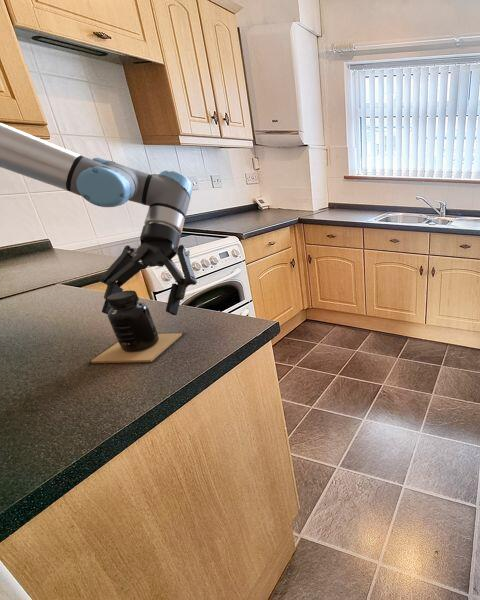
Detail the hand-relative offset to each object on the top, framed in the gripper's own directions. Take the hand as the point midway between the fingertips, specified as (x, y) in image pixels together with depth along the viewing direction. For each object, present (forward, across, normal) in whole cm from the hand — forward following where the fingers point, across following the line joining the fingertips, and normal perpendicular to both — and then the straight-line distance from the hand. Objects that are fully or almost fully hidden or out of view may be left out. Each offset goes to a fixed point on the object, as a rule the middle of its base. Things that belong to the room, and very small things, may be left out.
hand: (139, 313), depth 73 cm
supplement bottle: (+6, 0, -3) cm, 7 cm away
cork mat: (+7, 0, -3) cm, 7 cm away
